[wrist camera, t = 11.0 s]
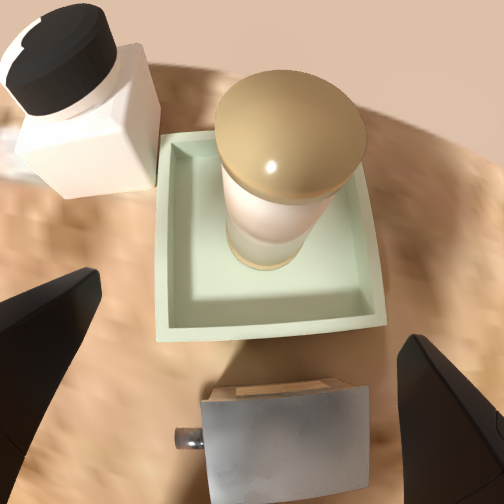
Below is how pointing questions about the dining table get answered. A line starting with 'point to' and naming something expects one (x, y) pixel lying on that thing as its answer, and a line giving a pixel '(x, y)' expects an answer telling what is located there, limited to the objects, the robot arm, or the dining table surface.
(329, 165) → the fuse
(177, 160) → the tray
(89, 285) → the robot arm
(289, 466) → the box
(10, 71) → the medicine bottle
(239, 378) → the dining table surface
